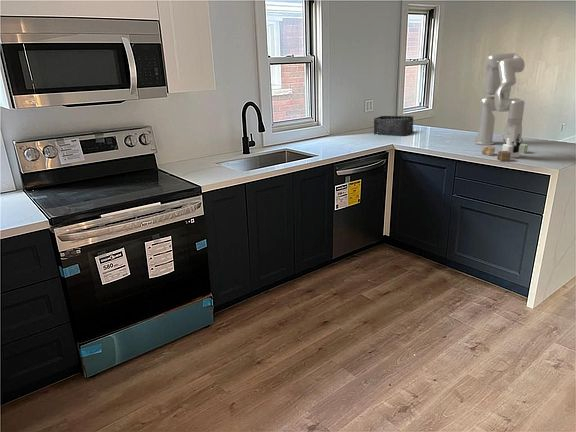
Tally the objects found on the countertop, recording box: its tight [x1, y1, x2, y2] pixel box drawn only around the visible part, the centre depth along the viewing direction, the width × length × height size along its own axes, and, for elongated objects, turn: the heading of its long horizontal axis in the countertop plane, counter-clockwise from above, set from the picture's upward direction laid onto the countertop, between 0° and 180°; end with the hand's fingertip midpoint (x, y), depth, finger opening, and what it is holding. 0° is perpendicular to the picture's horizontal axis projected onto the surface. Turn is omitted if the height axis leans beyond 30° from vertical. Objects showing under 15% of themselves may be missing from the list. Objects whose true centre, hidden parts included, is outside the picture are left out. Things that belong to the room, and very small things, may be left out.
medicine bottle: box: [501, 138, 521, 159], centre depth 253 cm, size 7×7×12 cm
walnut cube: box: [496, 150, 511, 162], centre depth 247 cm, size 5×5×5 cm
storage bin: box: [373, 115, 414, 137], centre depth 347 cm, size 29×19×13 cm
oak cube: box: [481, 145, 496, 156], centre depth 262 cm, size 5×5×5 cm
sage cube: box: [519, 143, 529, 154], centre depth 263 cm, size 5×5×5 cm
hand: (510, 150), depth 254 cm, fingers closed on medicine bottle, 7 cm apart
